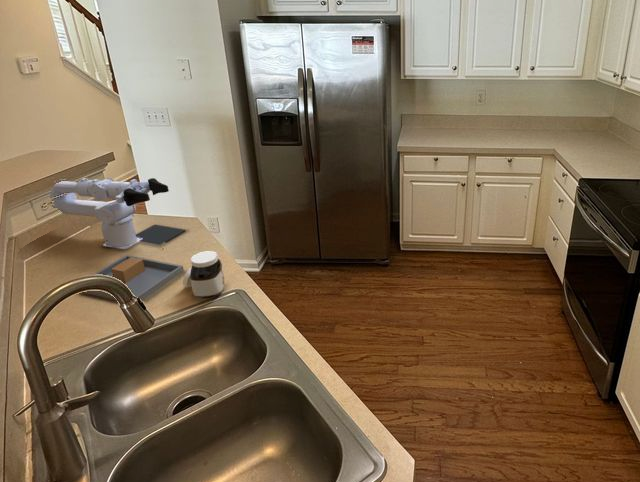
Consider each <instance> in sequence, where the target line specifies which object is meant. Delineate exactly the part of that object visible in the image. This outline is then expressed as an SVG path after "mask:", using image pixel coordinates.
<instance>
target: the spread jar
mask: <svg viewBox="0 0 640 482" xmlns="http://www.w3.org/2000/svg"><path fill="white" fill-rule="evenodd" d="M190 263H191V267H190V268H189V269H188V270H187V271H186V273H185V274H184V276H183V278H182V284H183V286H184V287H185V288H188V289H190V288H191V290H192V293H193V295H194V297H196V298H199V299H204V300H205V299H206V300H208V299H212V298H216V297H218V296H219V295H221V294H222V293H223V291H224V289H225V274H224V269H223V263H222V261H221V259H219V258H218V252H216V251H213V250H204V251H200V252H197V253H195V254H194V255H193V256H191V257H190Z"/></svg>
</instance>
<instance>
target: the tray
mask: <svg viewBox="0 0 640 482" xmlns="http://www.w3.org/2000/svg"><path fill="white" fill-rule="evenodd" d="M131 257H132V258H137V259H142V260H143V263H144V268H145V271H144V272H142V273H141V274H139V275H138V276H136V277H134V278H133V279H131V280H130V281H128V282H127V283H125V282H123V283H124V284H126V285H127V286H128V288H129V289H130V290H131V292H132V293H133V294H134V295H135V296H136V297H138V298H139V299H141V300H142V302H143V301H145V300H146V299H148V298H149V297H150V296H151V295H152V296H153V294H155V293H156V292H157V291H159V290H161V288H163V287H164V286H166V285H167V284H169V283H170V282H172V281H173V280H174V279H176V278H177V277H178V276H180V275H181V274H183V273H184V272H185V269H184V266H183V265H181V264H176V263H171V262H166V261H160V260H154V259H149V258H146V257H140V256H134V255H130V254H126V255H125V256H124V255H123V257H121V258H119V259H117V260H116V261H114V262H112V263H110V264H109V265H107V266H105V267H103V268H102V269H100V270H99V271H97V272H95V273H94V274H103V275H109V276H112V277H113V274H112V270H111V269H112V268H113V267H115V266H117V265H119V264H120V263H122V262H124V261H125V260H127V259H129V258H131ZM83 293H84V294H87V295H93V296H97V297H102V298H106V299H110V300H113V301H117V300H116V299H115V298H114V297H113V296H111V295H110V294H108V293H105V292H102V291H87V292H82V294H83Z"/></svg>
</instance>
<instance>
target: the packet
mask: <svg viewBox="0 0 640 482" xmlns="http://www.w3.org/2000/svg"><path fill="white" fill-rule="evenodd" d="M111 270H112V274H113V277H115V278H117V279H119V280H121V281H122V282H125V283H127V282H128V281H130V280H131V279H133V278H134V277H136V276H138V275H139V274H141V273H142V272H144V271H145V268H144V263H143V260H142V259H137V258H132V257H131V258H129V259H127V260H125V261H124V262H122V263H120V264H119V265H117V266H115V267H113V268H112V269H111Z"/></svg>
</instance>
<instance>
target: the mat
mask: <svg viewBox="0 0 640 482" xmlns="http://www.w3.org/2000/svg"><path fill="white" fill-rule="evenodd" d="M183 233H186V229H184V228H183V229H182V228H177V227H176V228H175V227H171V226H165V225H159V224H153V225H151V226H149V227H148V228H147V227H146V229H144V230H142V231H140V232H137V233H136V237H138V238H139V239H141V238H143V239H142V240H139V242H141V243H148V244H151V245H152V244H153V245H156V246H157V245H158V246H161V245H163V244H164V243H166V244H167V243H169V242H171V241H172V240H173V239H174V240H175V238H177V237H179V236H180V235H182V234H183ZM138 238H137V239H138Z"/></svg>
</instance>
